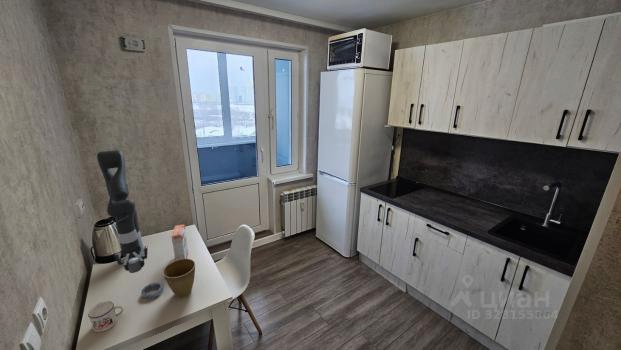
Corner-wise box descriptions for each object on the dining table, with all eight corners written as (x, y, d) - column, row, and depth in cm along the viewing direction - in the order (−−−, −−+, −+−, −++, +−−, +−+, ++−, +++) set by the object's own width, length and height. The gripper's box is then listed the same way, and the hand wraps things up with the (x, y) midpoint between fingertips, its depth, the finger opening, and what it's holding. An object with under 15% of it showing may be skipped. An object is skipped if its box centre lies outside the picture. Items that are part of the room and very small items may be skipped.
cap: (129, 268, 130) (127, 259, 128) (142, 264, 132) (140, 255, 131) (128, 274, 125) (126, 265, 124) (141, 270, 128) (139, 261, 126)
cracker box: (186, 264, 157) (181, 234, 151) (175, 266, 155) (170, 236, 149) (189, 251, 170) (184, 223, 163) (179, 253, 168) (174, 225, 162)
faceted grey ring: (142, 290, 136) (142, 286, 135) (163, 283, 140) (162, 280, 139) (141, 302, 128) (140, 298, 127) (163, 295, 132) (162, 291, 131)
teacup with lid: (91, 336, 109) (84, 315, 106) (94, 321, 116) (88, 301, 113) (124, 324, 115) (119, 303, 112) (126, 310, 123) (121, 291, 119)
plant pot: (169, 287, 138) (164, 262, 133) (199, 280, 143) (195, 256, 139) (165, 307, 125) (160, 280, 120) (198, 298, 130) (194, 272, 125)
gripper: (146, 232, 130) (152, 260, 135) (111, 239, 124) (119, 268, 128) (145, 238, 124) (151, 268, 129) (108, 246, 117) (116, 277, 122)
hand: (135, 268), depth 128 cm, fingers closed on cap, 5 cm apart
